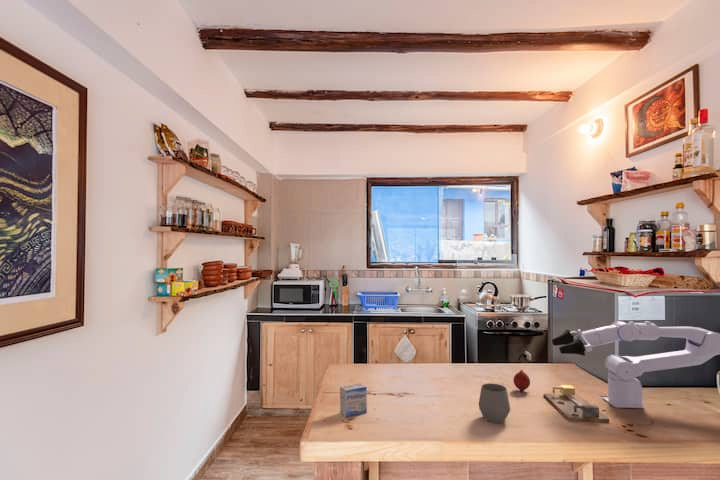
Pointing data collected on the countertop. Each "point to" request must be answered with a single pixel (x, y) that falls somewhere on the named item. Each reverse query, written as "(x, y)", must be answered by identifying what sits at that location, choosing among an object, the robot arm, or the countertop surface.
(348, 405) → the medicine box
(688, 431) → the countertop surface
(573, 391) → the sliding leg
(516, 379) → the onion
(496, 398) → the cup
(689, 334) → the robot arm
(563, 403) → the gauge board
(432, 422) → the countertop surface
